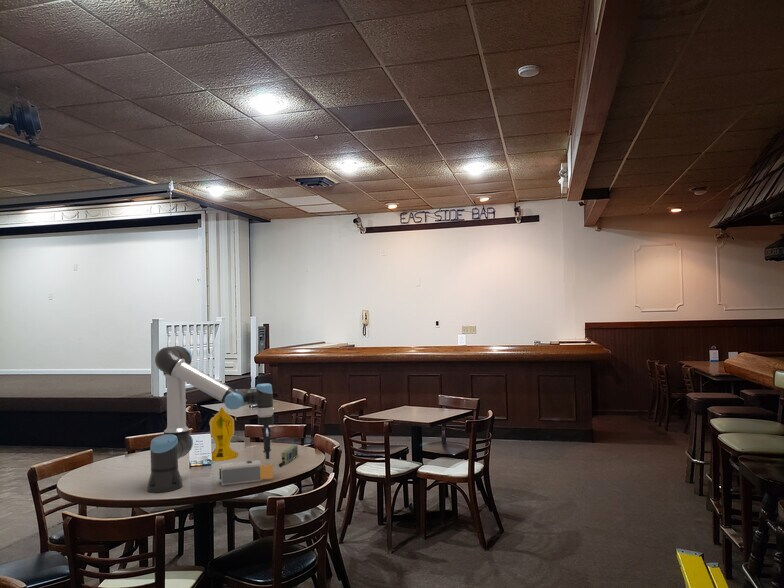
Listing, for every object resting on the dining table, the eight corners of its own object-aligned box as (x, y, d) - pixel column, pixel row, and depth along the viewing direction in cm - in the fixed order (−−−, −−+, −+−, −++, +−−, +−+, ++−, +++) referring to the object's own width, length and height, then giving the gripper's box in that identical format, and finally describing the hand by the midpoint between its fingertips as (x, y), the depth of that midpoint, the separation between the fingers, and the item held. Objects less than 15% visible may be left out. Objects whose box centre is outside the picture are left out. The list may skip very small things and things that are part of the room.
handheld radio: (299, 456, 321) (283, 467, 296) (293, 456, 321) (277, 467, 297) (298, 444, 321) (282, 454, 296) (292, 444, 322) (276, 454, 297)
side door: (222, 483, 264) (222, 470, 264) (222, 483, 265) (222, 470, 265) (273, 477, 271) (272, 465, 271) (273, 477, 272) (272, 464, 272)
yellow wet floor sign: (218, 463, 310) (217, 411, 311) (197, 457, 327) (196, 408, 329) (247, 457, 322) (245, 407, 324) (225, 452, 339) (224, 404, 341)
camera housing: (219, 485, 265) (219, 466, 265) (219, 481, 273) (219, 463, 273) (261, 480, 270) (260, 462, 271) (260, 476, 278) (259, 458, 278)
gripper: (274, 416, 272) (277, 467, 271) (272, 413, 285) (274, 461, 283) (258, 418, 270) (260, 469, 269) (256, 414, 283) (259, 463, 281)
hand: (267, 465), depth 276 cm, fingers closed
